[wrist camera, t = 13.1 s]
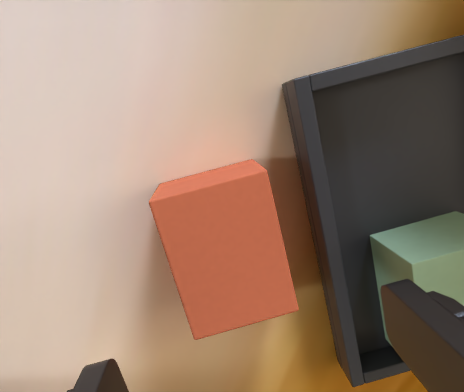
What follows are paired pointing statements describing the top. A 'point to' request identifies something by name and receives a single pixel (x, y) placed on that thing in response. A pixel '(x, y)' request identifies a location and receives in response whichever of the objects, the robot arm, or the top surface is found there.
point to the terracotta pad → (225, 247)
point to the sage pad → (422, 256)
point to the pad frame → (375, 177)
